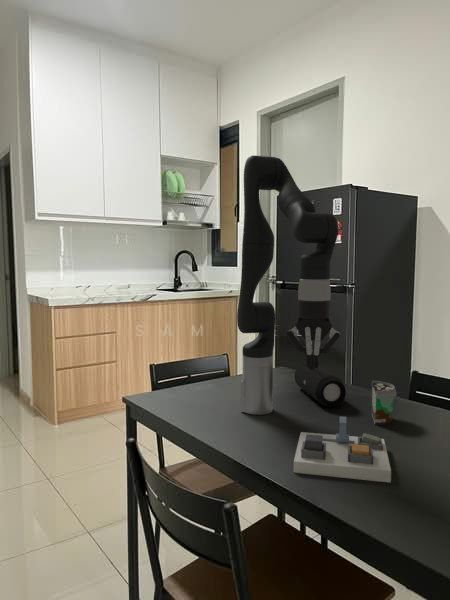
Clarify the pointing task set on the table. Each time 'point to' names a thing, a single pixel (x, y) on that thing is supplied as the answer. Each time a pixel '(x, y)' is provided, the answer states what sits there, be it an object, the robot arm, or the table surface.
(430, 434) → the table surface
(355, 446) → the orange push button
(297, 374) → the portable speaker
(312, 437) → the gray push button
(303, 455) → the control panel
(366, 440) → the olive rocker
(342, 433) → the blue paddle
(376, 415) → the food container
